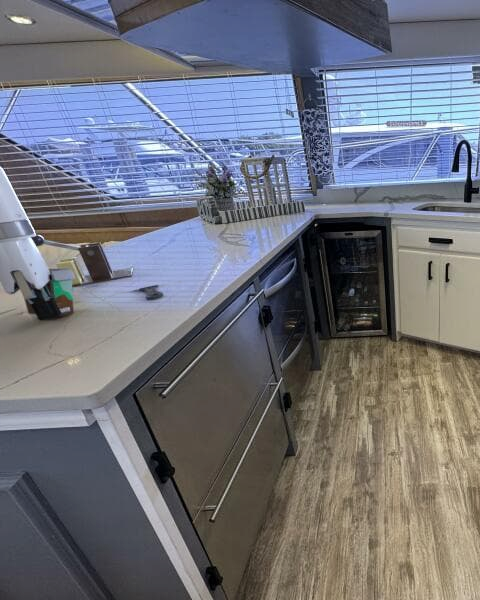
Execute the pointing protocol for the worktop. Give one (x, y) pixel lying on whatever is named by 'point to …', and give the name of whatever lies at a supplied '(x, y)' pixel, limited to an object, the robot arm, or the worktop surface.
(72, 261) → the butter
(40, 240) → the lever
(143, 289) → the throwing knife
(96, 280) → the slicer
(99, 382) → the worktop surface
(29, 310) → the food container
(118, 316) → the worktop surface
